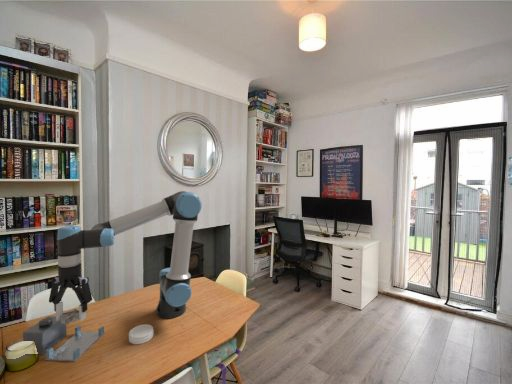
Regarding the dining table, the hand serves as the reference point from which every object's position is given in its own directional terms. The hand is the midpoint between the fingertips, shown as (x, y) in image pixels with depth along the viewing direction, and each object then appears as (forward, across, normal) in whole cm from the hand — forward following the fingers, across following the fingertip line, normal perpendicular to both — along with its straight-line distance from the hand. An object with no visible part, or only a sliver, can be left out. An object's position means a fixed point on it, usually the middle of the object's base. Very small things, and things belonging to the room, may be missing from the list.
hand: (71, 319), depth 103 cm
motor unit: (+13, +6, -3) cm, 15 cm away
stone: (0, 0, 0) cm, 0 cm away
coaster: (+14, -24, -10) cm, 29 cm away
